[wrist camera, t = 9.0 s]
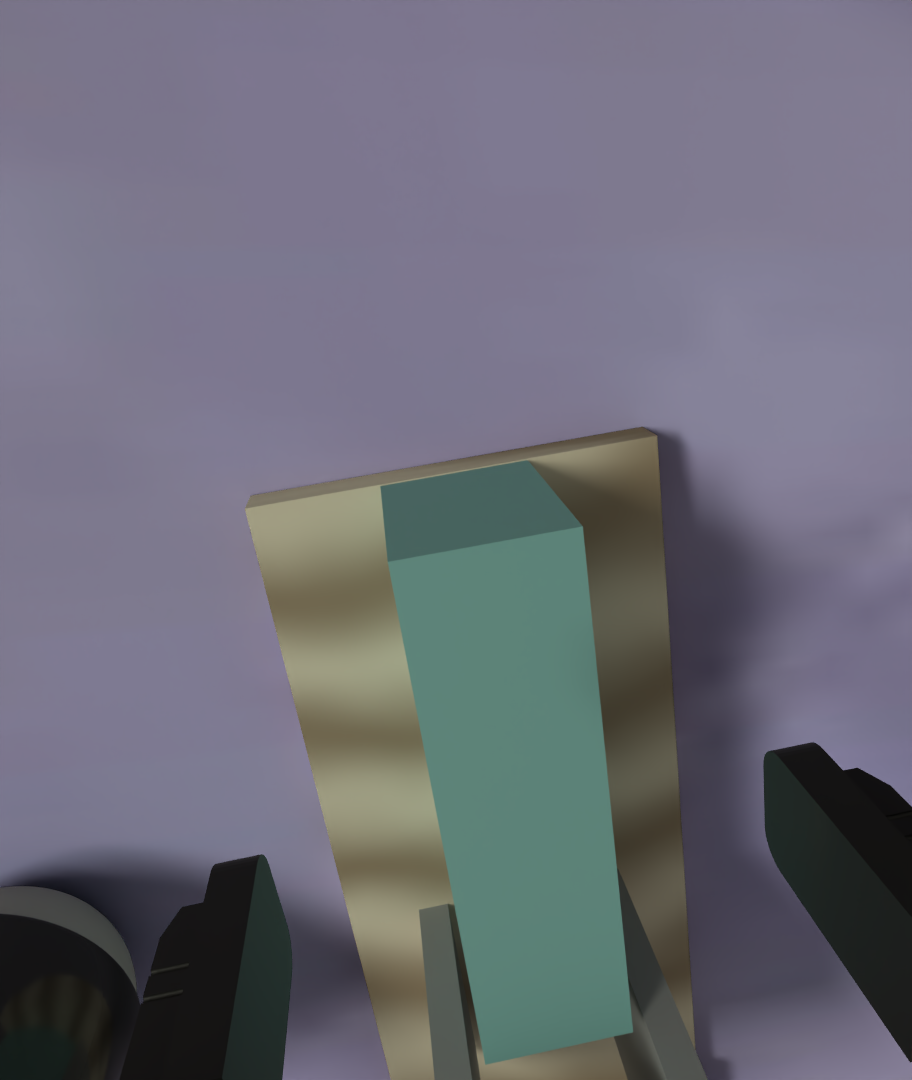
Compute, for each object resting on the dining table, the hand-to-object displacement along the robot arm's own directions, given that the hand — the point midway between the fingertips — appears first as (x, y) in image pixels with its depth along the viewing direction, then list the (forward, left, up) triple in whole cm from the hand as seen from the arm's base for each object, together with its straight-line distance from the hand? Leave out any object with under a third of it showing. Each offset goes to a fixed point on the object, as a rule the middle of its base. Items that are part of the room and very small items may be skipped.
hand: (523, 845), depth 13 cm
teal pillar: (+7, +1, -16) cm, 17 cm away
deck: (+18, +1, -17) cm, 25 cm away
